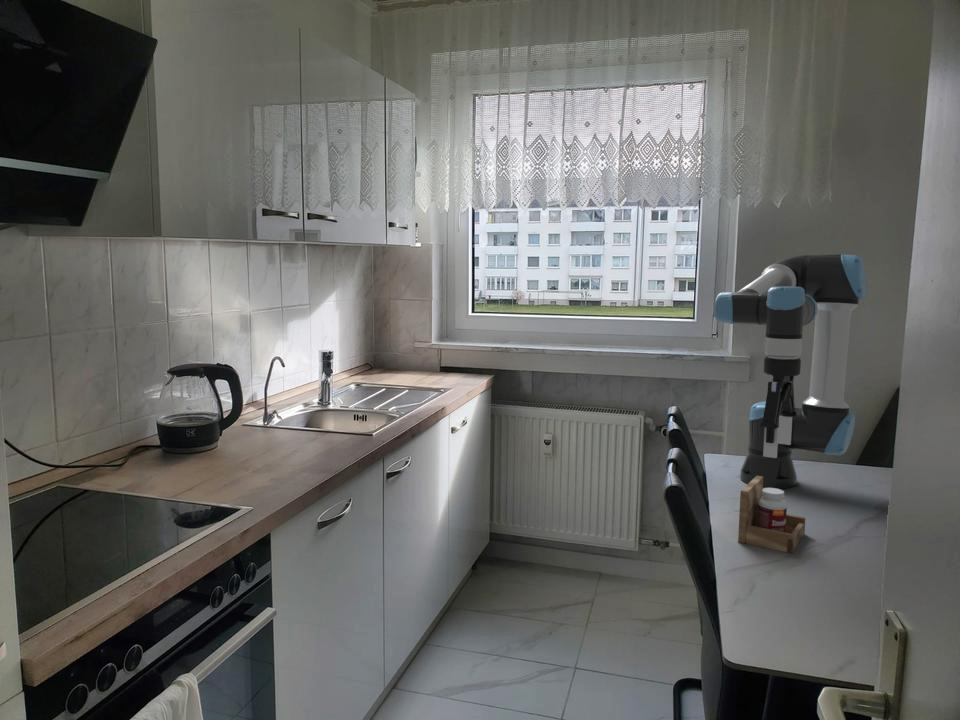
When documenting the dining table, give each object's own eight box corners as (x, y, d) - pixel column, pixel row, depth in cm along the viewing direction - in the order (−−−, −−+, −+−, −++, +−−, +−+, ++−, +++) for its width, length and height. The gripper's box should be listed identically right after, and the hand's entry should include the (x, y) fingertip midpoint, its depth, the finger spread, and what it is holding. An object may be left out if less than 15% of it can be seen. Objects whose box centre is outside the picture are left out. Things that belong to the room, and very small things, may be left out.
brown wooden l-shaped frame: (754, 523, 174) (756, 475, 172) (804, 533, 167) (807, 483, 166) (738, 542, 162) (740, 490, 161) (791, 553, 156) (794, 500, 154)
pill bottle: (773, 544, 161) (776, 496, 160) (750, 535, 166) (752, 489, 165) (790, 538, 164) (793, 492, 163) (766, 530, 169) (769, 485, 168)
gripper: (777, 349, 171) (773, 436, 174) (750, 361, 151) (745, 460, 154) (811, 352, 167) (806, 441, 170) (788, 364, 147) (782, 465, 150)
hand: (777, 450), depth 162 cm, fingers open, 13 cm apart
